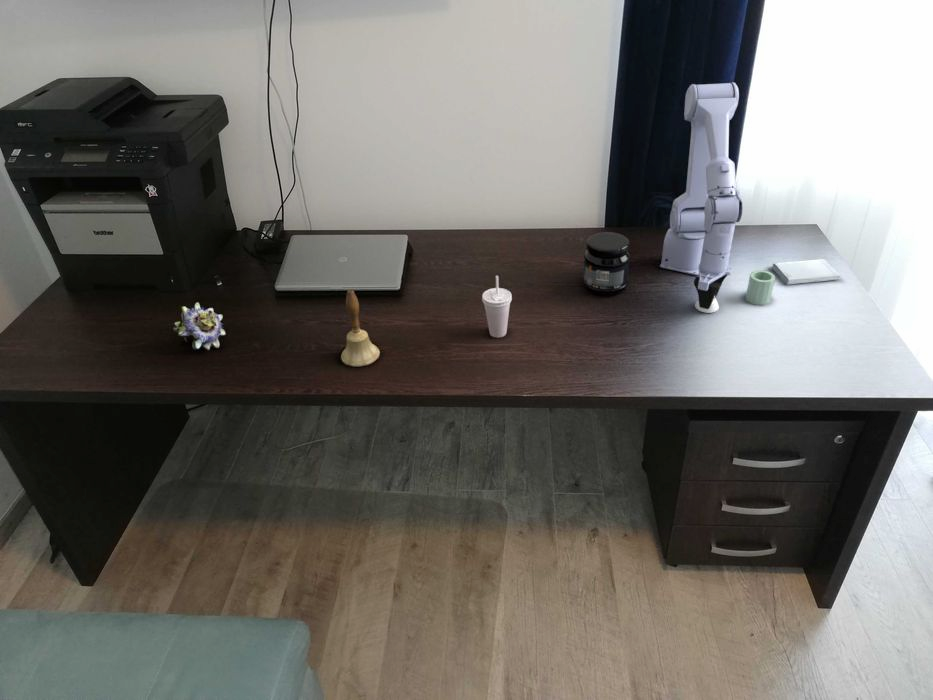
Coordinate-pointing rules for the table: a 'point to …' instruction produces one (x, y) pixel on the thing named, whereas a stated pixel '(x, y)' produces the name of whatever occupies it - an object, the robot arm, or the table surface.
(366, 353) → the hand bell
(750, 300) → the cup
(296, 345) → the table surface
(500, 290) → the smoothie
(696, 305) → the white jar
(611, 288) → the supplement container
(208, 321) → the passion flower
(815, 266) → the hard drive
